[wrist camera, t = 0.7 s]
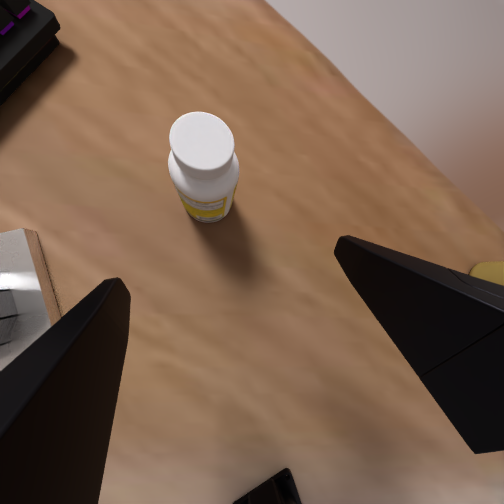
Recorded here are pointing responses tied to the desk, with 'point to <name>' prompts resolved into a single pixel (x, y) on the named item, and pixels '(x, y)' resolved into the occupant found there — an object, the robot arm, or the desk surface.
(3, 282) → the cup bracket
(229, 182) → the supplement bottle
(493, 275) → the bark textured cylinder
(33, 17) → the keyboard
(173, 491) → the desk surface
